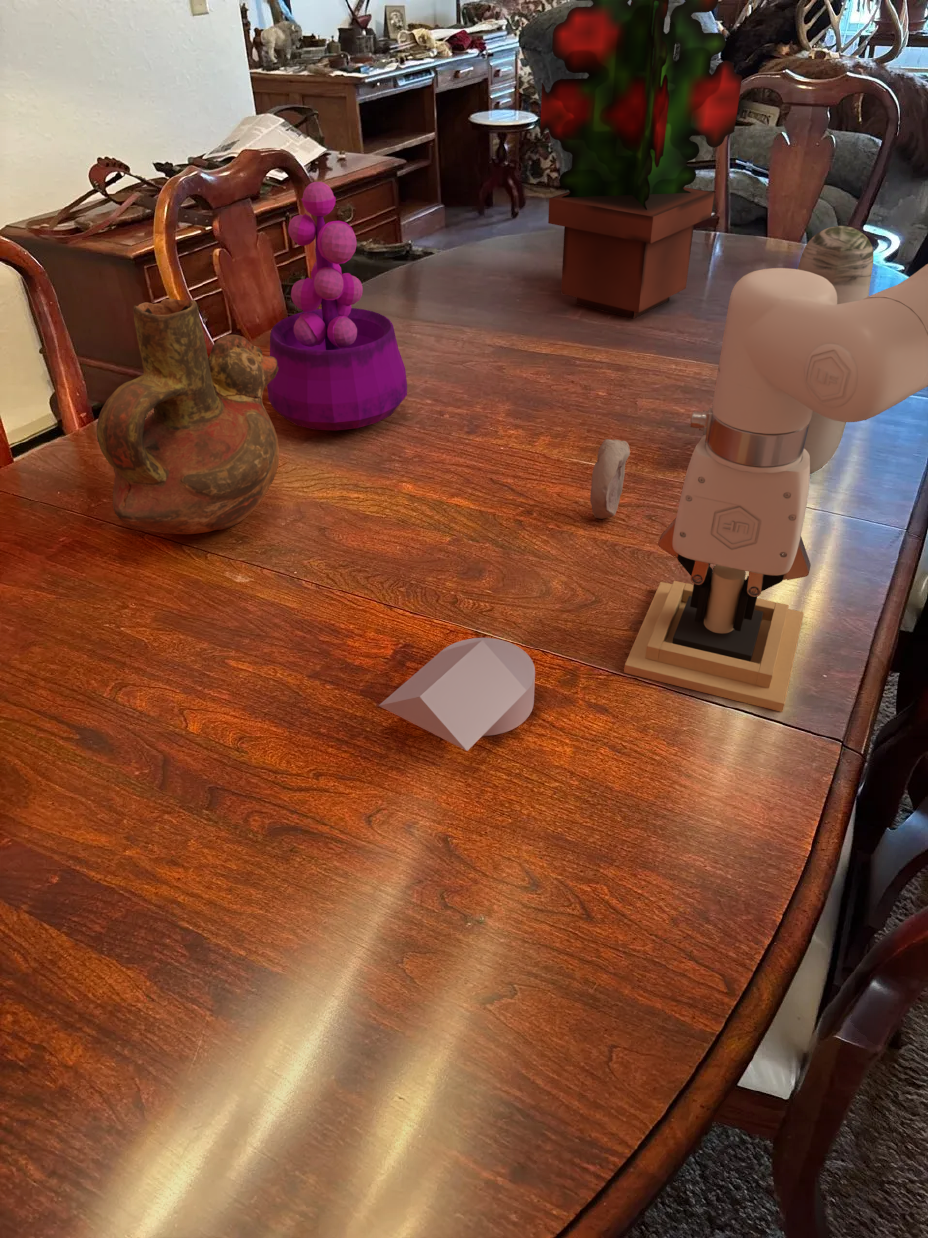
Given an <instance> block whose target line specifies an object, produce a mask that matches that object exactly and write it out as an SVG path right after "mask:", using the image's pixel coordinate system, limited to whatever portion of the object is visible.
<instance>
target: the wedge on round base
mask: <svg viewBox="0 0 928 1238" xmlns="http://www.w3.org/2000/svg"><path fill="white" fill-rule="evenodd" d="M535 687H536V667H535V664H534V662H533V660H532V658H531V657H530V655H529V654H528V653H527V652H526V651H525V650H524V649H522V647H519V646H518V645H516V644H514V643H511V642H509V641H507V640H504V639H498V638H494V637H493V638H491V637H473V638H466V639H462V640H460V641H456V642H454V643H452V644H449V645H448V646H446V647H444V648H443V649H441V651H439V652H438V653H437V654H436V655H435V656H434V657H432V658H431V659H430V660H429V661H428V662H427V663H425V665H423V666H422V667H421V668H420V669H419V670H417V671H416V672H415V673H414V674H413V675H411V676H410V678H408V679H407V680H406V681H405V682H404V683H403V684H401V686H399V687H398V688H397V689H395V691H394V692H392V693H391V694H390V695H389V696H388V697H387V698H386V699H384V700H383V701H382V702H381V703H380V704H378V707H380V708H382V709H384V710H386V711H387V712H390V713H392V714H394V715H396V716H398V717H400V718H402V719H403V720H405V721H408V722H409V723H411V724H412V725H414V726H417V727H419V728H421V729H423V730H425V731H427V732H429V733H431V734H432V735H434V736H437V737H439V738H441V739H443V740H444V741H446V742H449V743H450V744H452V745H454V746H456V747H458V748H460V749H462V750H464V751H466V752H468V751H469V750H470V749H471V748H473V746H474V745H475V744H476V743H477V742H478V741H479V740H480V739H481V738H482V737H488V736H490V737H491V736H495V735H501V734H504V733H508V732H509V731H512V730H514V729H516V728H518V727H519V726H520V725H522V724H523V723H524V722H525V721H527V719H528V718H529V717H530V715H531V714H532V711H533V708H534V705H535V689H536V688H535Z"/></svg>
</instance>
